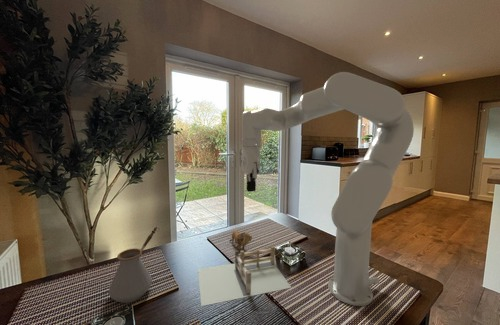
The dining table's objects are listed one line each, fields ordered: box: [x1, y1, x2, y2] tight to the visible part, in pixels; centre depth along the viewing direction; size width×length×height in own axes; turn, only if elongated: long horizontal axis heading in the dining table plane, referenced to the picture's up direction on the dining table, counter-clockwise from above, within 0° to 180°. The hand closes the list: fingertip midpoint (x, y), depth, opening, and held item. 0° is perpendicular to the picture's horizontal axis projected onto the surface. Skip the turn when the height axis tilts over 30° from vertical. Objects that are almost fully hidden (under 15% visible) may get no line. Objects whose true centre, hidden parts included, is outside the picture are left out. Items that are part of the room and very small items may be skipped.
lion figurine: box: [229, 229, 253, 253], centre depth 94 cm, size 15×5×9 cm, turn 38°
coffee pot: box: [108, 226, 161, 304], centre depth 70 cm, size 21×12×15 cm, turn 174°
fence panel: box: [234, 249, 251, 294], centre depth 71 cm, size 14×1×6 cm, turn 19°
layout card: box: [197, 260, 292, 307], centre depth 73 cm, size 28×18×1 cm, turn 107°
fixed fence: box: [239, 245, 276, 267], centre depth 79 cm, size 13×1×7 cm, turn 107°
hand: (251, 190), depth 84 cm, fingers closed
